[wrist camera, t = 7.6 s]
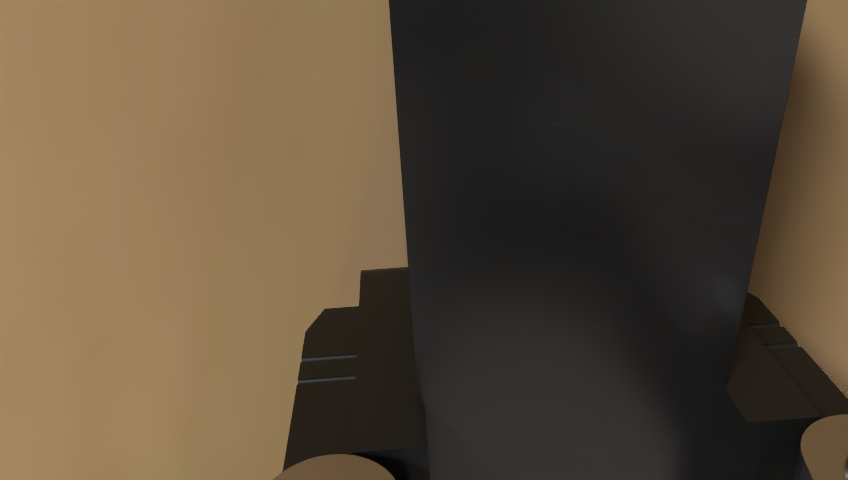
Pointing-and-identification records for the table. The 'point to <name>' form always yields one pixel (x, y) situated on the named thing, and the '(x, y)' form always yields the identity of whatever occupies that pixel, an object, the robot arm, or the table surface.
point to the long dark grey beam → (583, 223)
